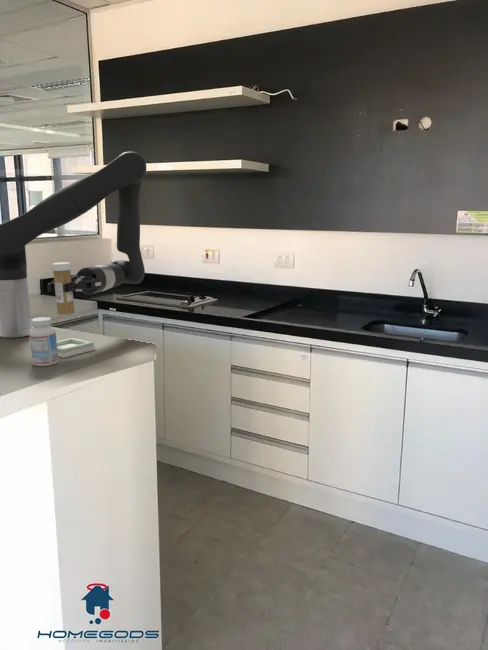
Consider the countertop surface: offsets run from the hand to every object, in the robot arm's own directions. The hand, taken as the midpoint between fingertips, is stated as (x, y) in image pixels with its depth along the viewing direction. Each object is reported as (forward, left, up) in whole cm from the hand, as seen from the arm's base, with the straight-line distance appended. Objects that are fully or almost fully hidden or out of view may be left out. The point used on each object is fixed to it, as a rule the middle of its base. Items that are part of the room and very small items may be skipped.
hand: (56, 288), depth 141 cm
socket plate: (-1, +2, -17) cm, 17 cm away
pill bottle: (+5, -8, -17) cm, 20 cm away
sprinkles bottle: (-1, +3, -7) cm, 8 cm away
